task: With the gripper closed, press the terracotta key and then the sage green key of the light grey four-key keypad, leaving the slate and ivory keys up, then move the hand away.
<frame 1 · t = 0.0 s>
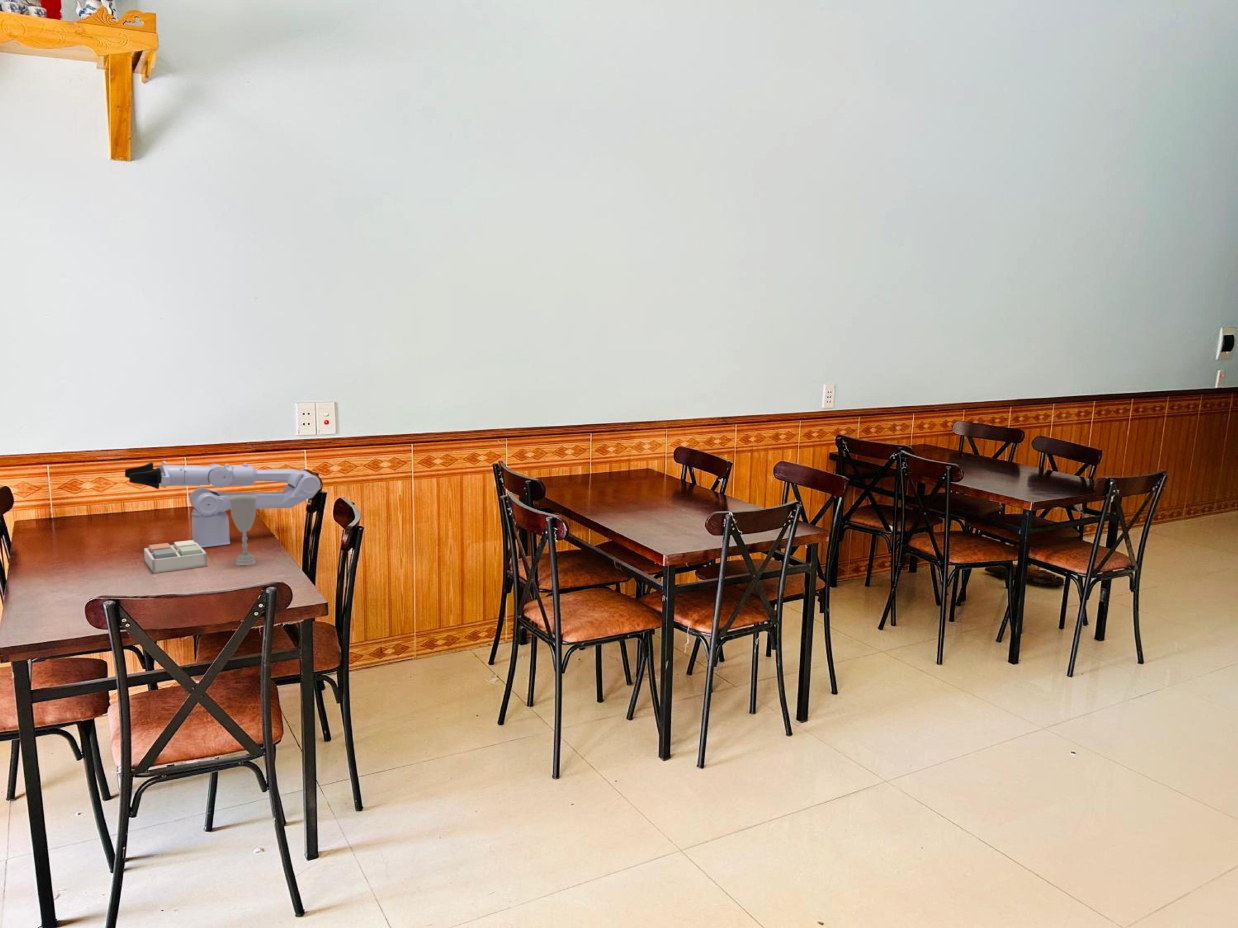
hand: (127, 475, 244), 22 cm above the table, tool horizontal, fingers open, 7 cm apart
key slate: (164, 556, 235), point 3 cm above the table, slide at 0.0 cm
chalice: (245, 563, 242), on the table
key ivory: (185, 547, 243), point 3 cm above the table, slide at 0.0 cm
keypad: (175, 563, 239), on the table
key sage: (190, 552, 238), point 3 cm above the table, slide at 0.0 cm
key terracotta: (160, 550, 240), point 3 cm above the table, slide at 0.0 cm
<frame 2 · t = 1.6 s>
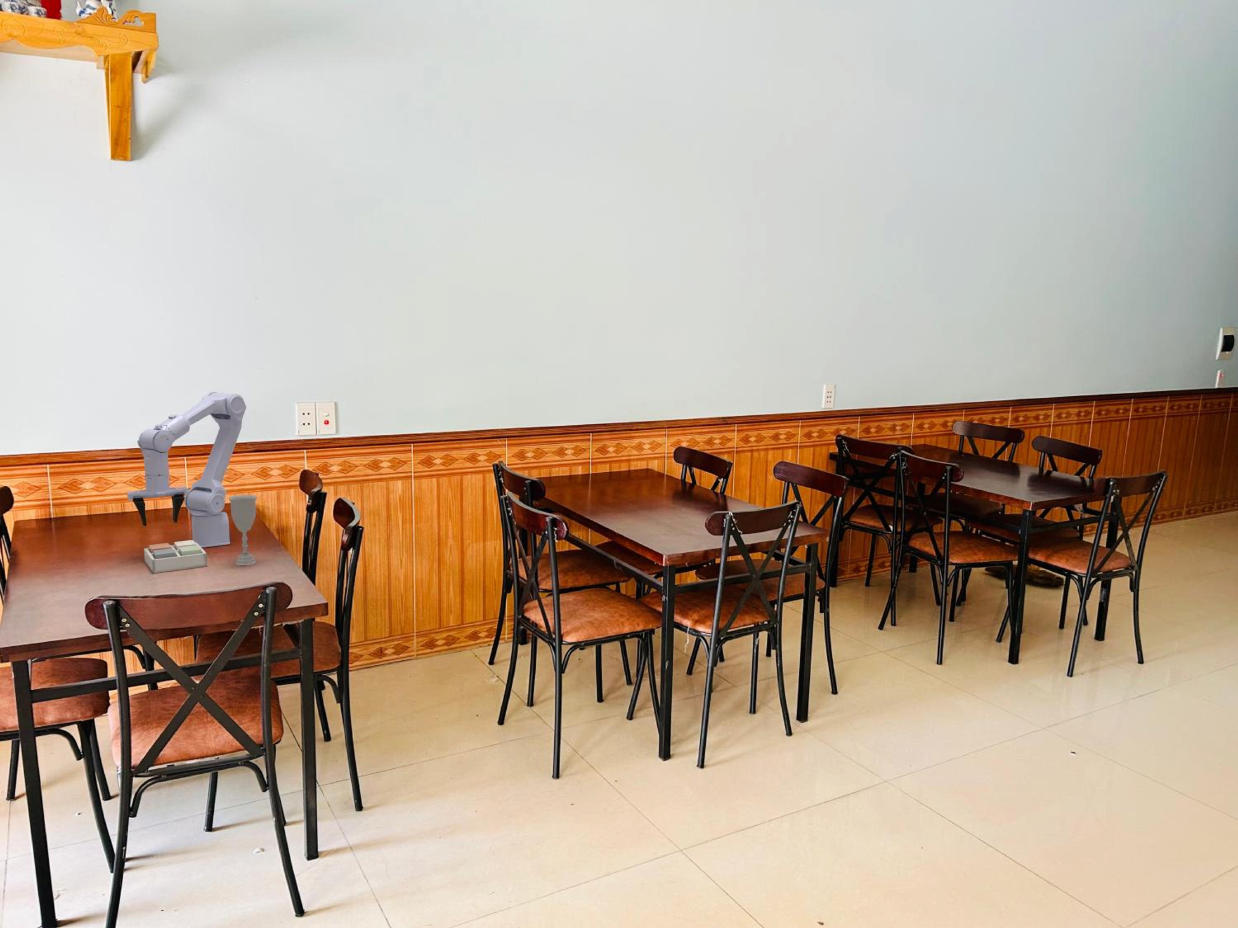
hand: (160, 523, 243), 9 cm above the table, tool pointing down, fingers open, 7 cm apart
nothing on the table moved.
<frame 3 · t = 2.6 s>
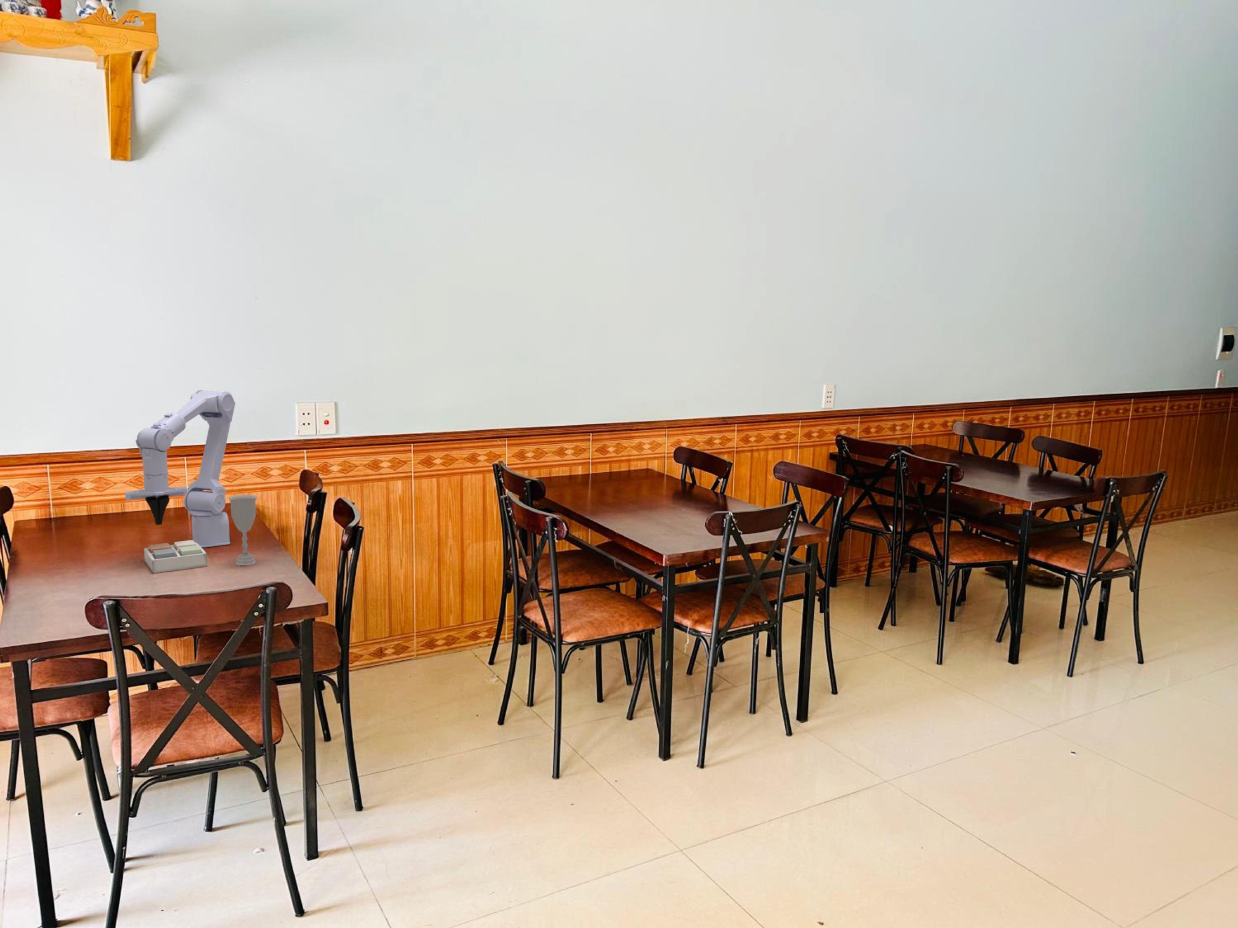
hand: (158, 523, 239), 10 cm above the table, tool pointing down, fingers closed
nothing on the table moved.
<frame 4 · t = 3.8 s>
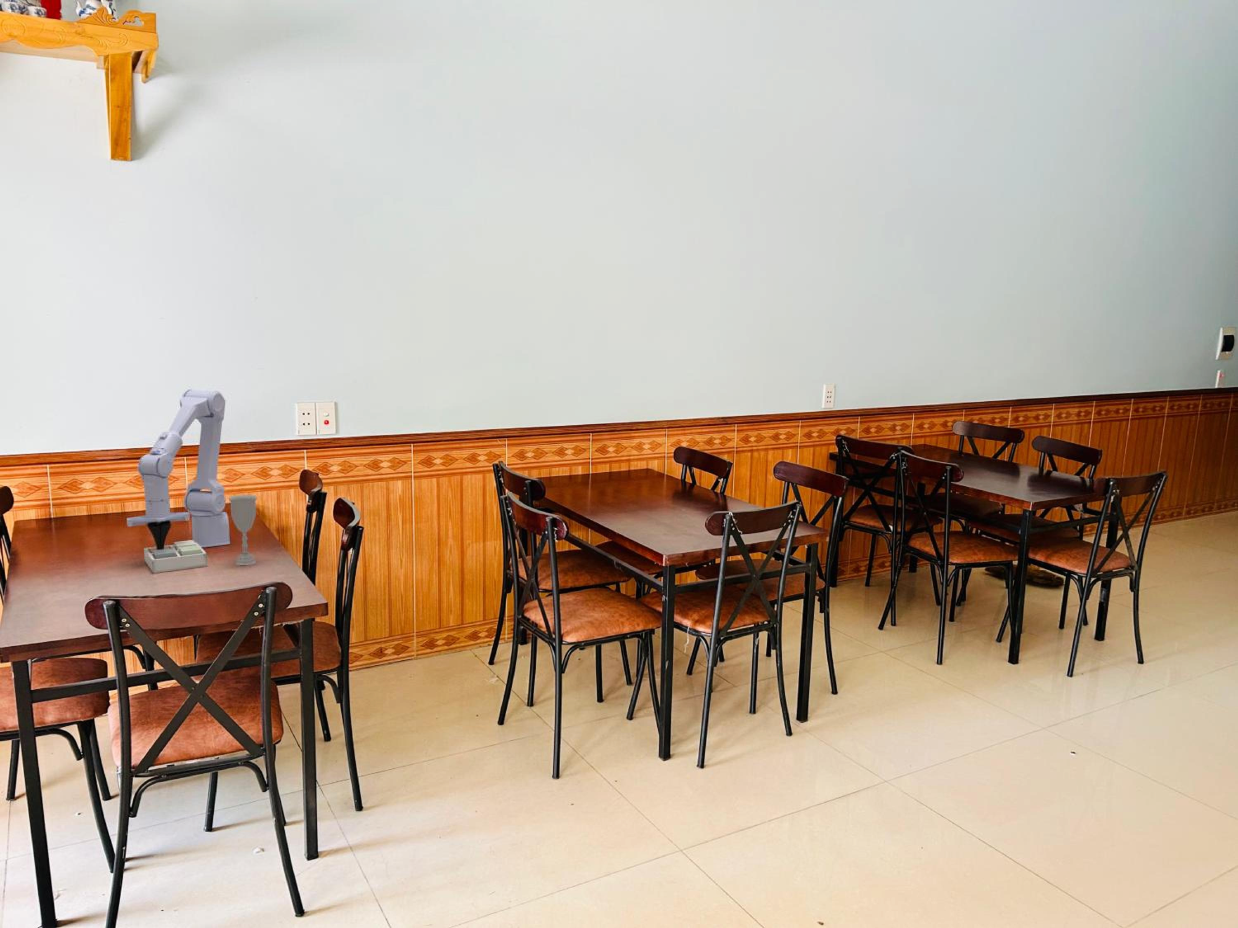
hand: (160, 549, 239), 4 cm above the table, tool pointing down, fingers closed, pressing on key terracotta
key terracotta: (160, 553, 240), point 2 cm above the table, slide at 0.9 cm, touching gripper
everything else where it was.
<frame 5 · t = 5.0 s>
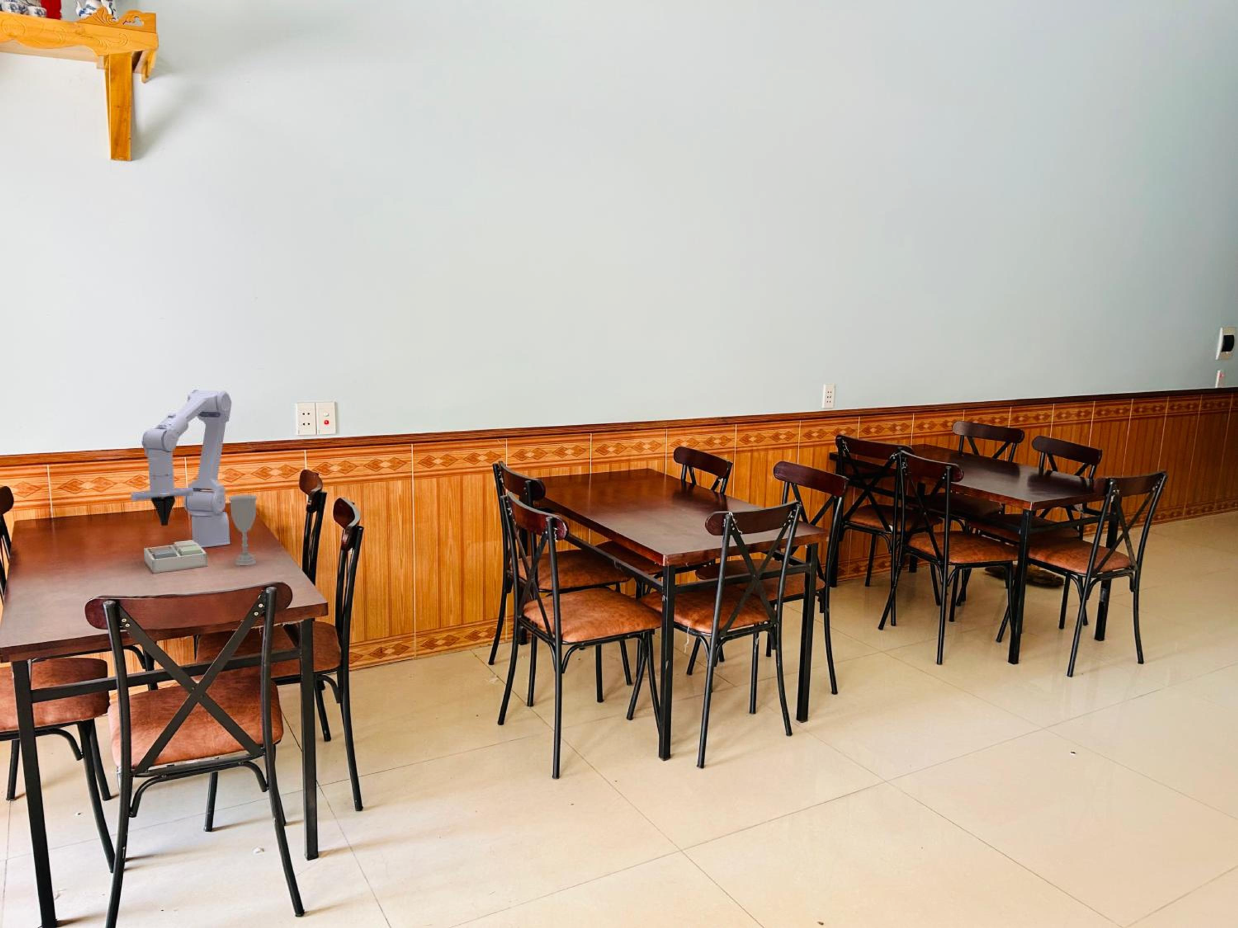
hand: (164, 524, 238), 10 cm above the table, tool pointing down, fingers closed
key terracotta: (160, 553, 240), point 2 cm above the table, slide at 0.9 cm
everything else where it was.
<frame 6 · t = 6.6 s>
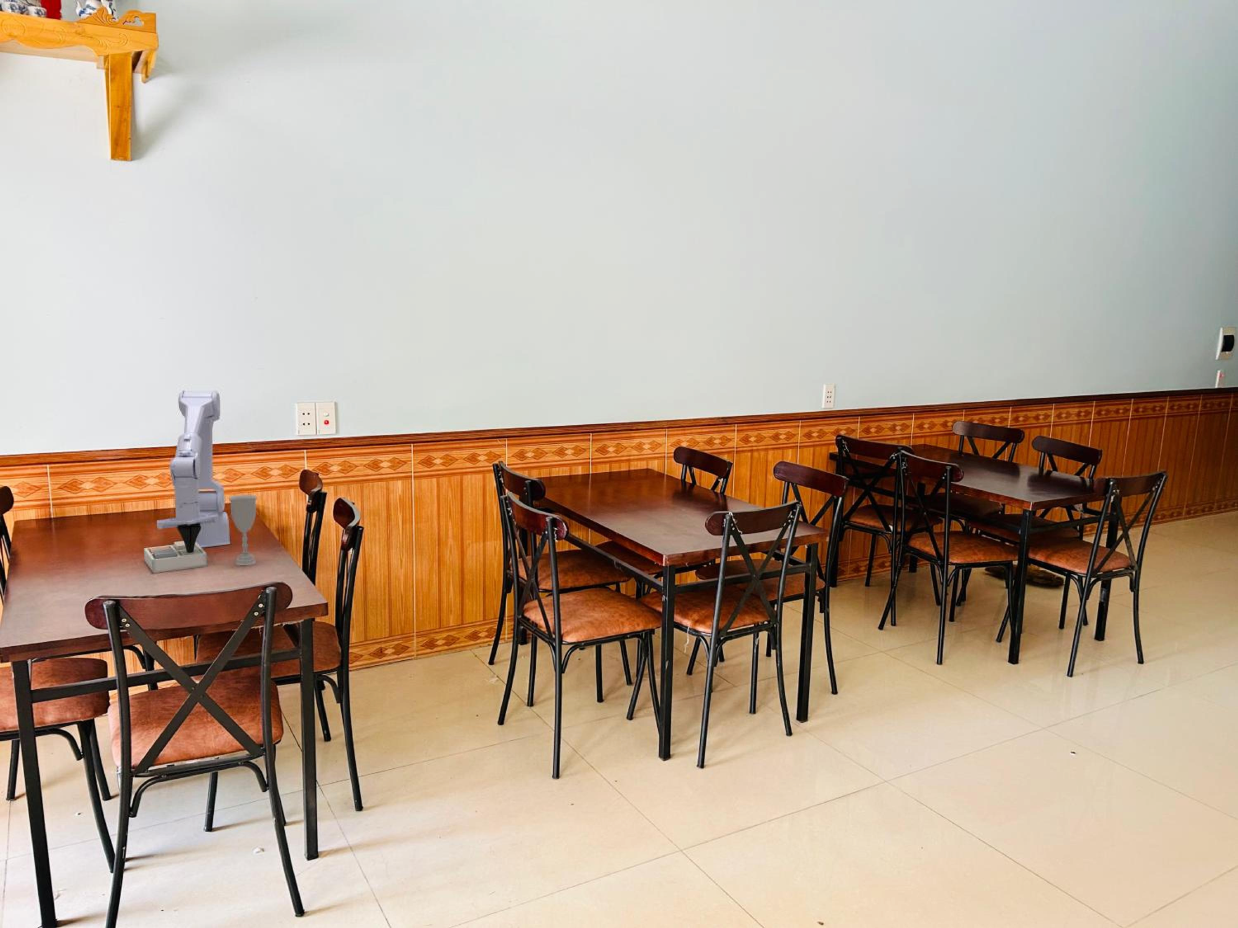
hand: (189, 551, 238), 4 cm above the table, tool pointing down, fingers closed, pressing on key sage
key sage: (190, 556, 238), point 2 cm above the table, slide at 0.9 cm, touching gripper
everything else where it was.
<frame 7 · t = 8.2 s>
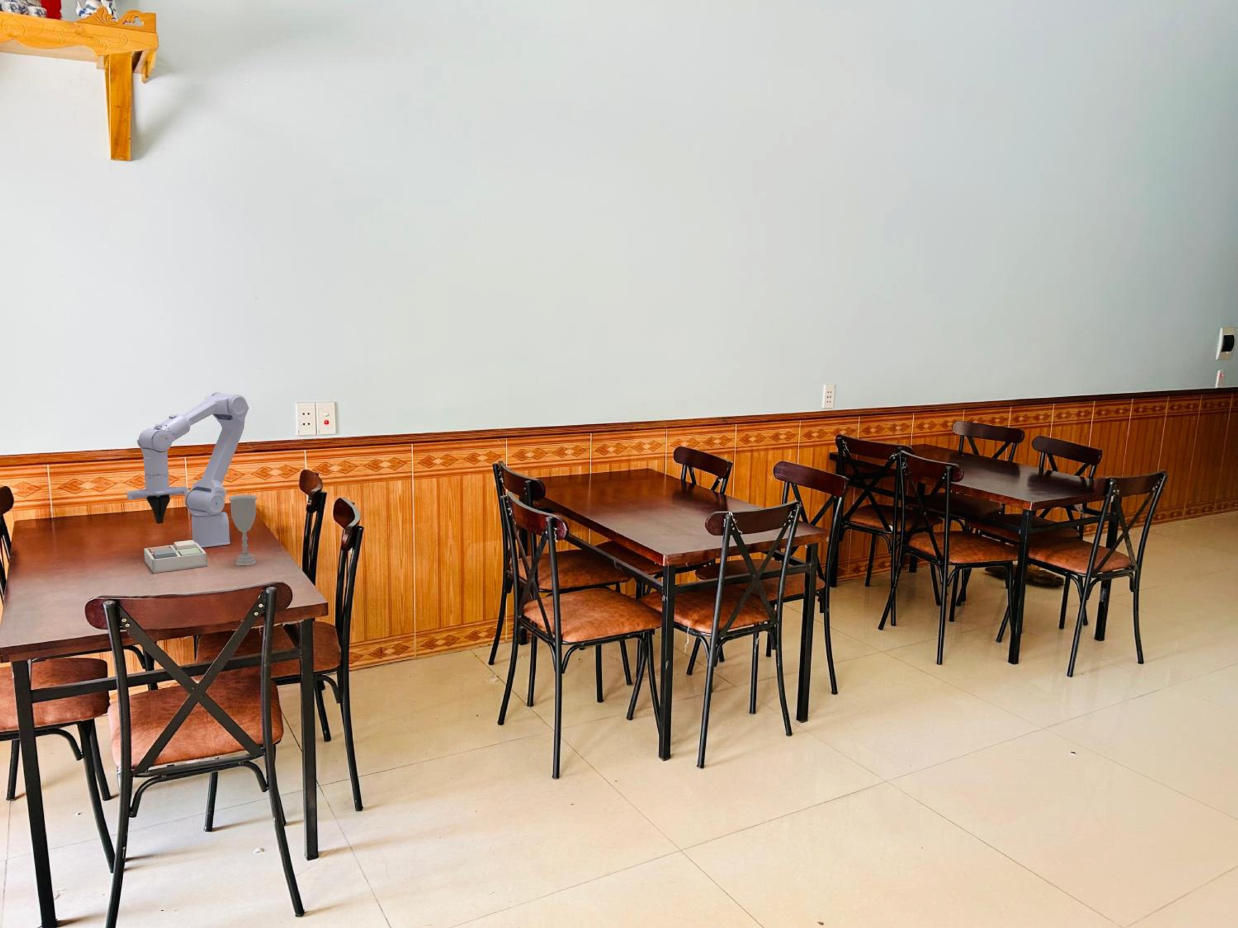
hand: (159, 522, 244), 9 cm above the table, tool pointing down, fingers closed
key sage: (190, 556, 238), point 2 cm above the table, slide at 0.9 cm
everything else where it was.
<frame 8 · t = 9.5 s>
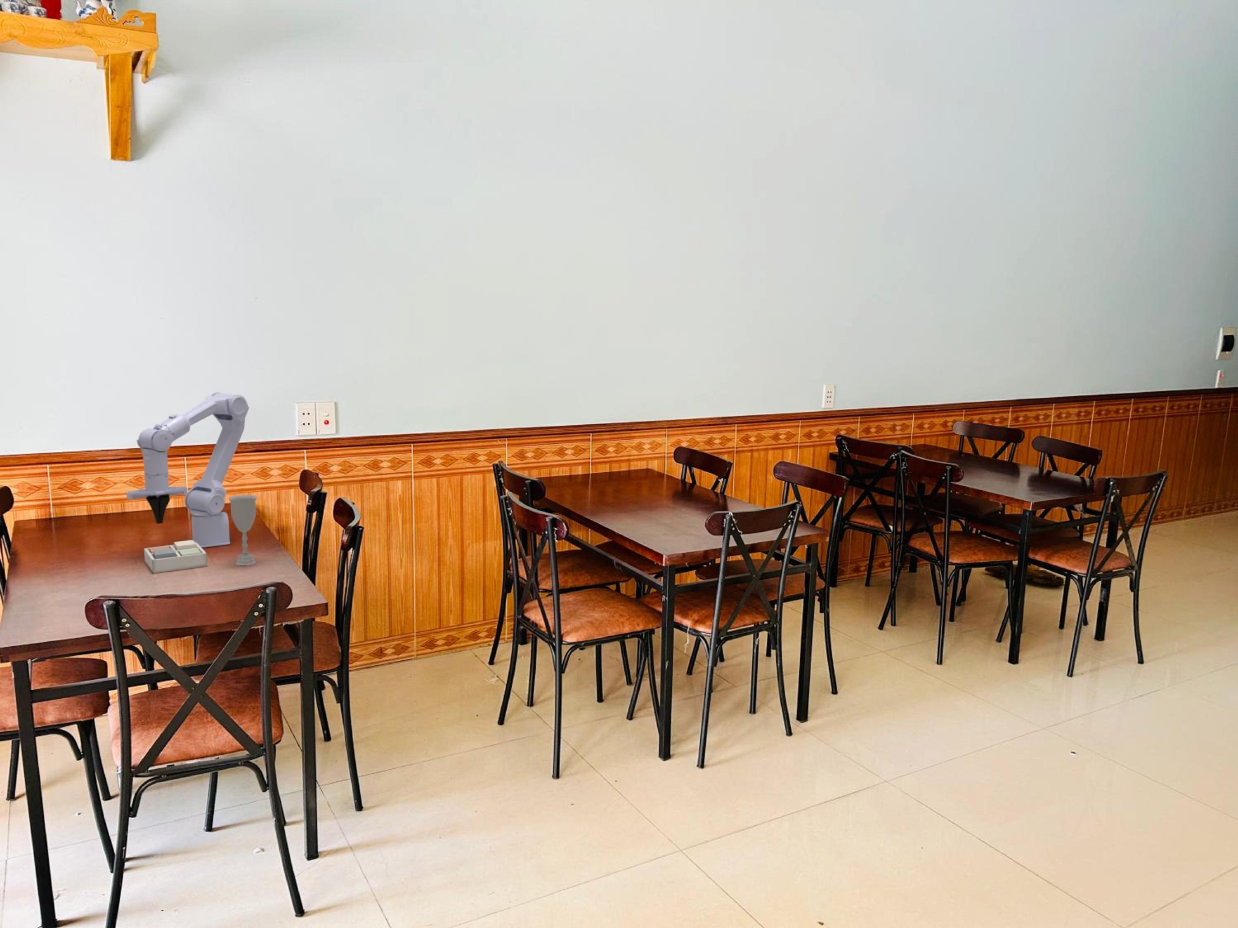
hand: (159, 522, 244), 9 cm above the table, tool pointing down, fingers closed
nothing on the table moved.
at the end: key terracotta slide at 0.9 cm; key sage slide at 0.9 cm; key slate slide at 0.0 cm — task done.
